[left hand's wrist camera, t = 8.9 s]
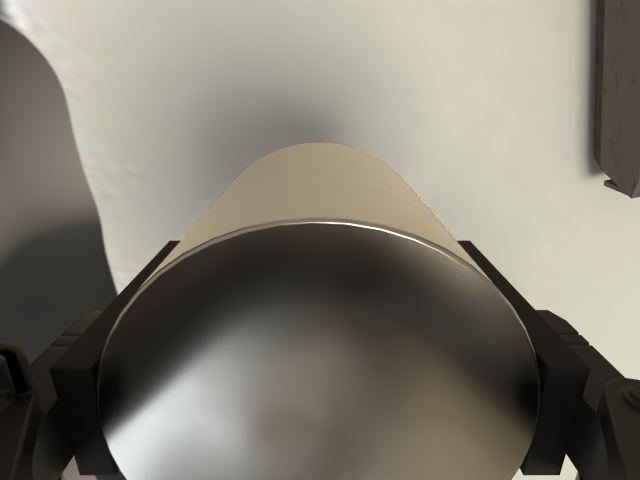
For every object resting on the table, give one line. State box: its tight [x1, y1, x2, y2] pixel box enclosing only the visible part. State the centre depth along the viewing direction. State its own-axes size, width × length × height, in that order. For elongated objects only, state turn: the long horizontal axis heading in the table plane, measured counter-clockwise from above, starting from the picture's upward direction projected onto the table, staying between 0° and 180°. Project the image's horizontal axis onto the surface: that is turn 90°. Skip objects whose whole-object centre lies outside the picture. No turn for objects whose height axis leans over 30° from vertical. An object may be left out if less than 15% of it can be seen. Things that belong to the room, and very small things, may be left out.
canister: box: [97, 142, 541, 480], centre depth 12 cm, size 8×8×9 cm
